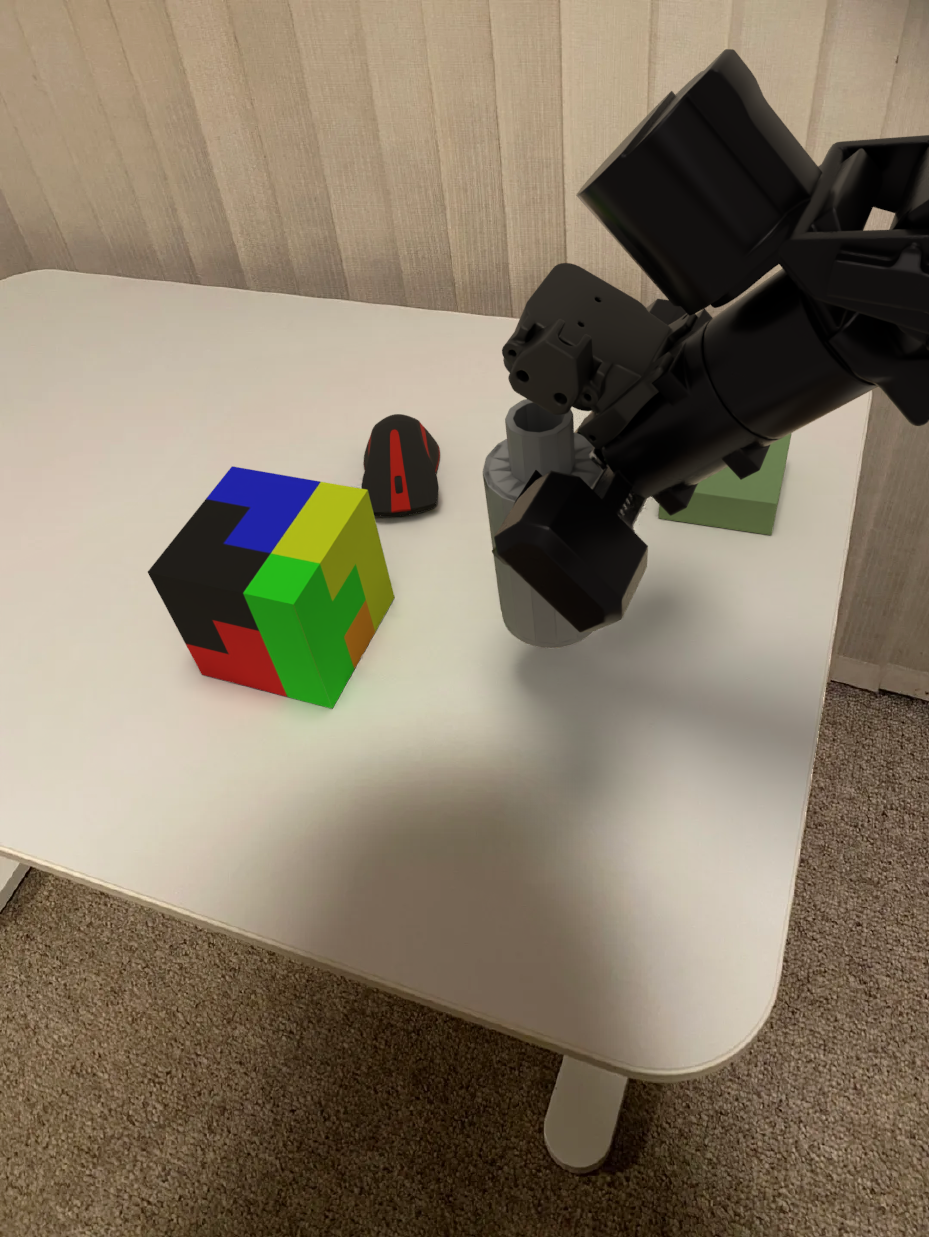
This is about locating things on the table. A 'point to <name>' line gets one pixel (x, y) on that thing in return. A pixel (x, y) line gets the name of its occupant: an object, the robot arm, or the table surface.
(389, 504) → the computer mouse
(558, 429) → the flask
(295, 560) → the puzzle toy
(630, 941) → the table surface
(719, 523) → the green block
